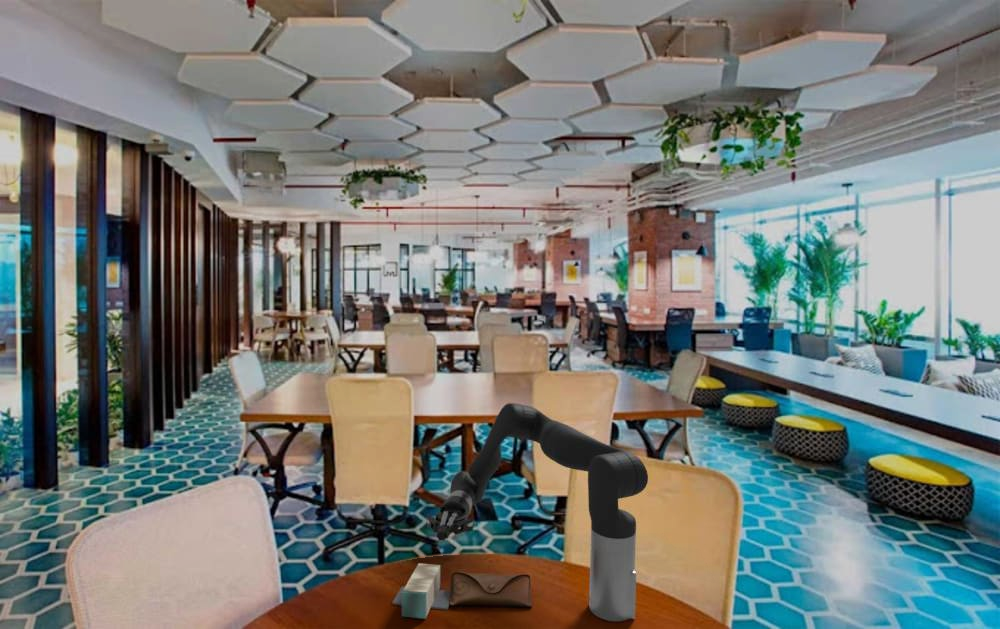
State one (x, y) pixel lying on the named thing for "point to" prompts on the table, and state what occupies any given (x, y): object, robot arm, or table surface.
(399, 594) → the rubber mat
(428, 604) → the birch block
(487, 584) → the sunglasses case
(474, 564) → the table surface
